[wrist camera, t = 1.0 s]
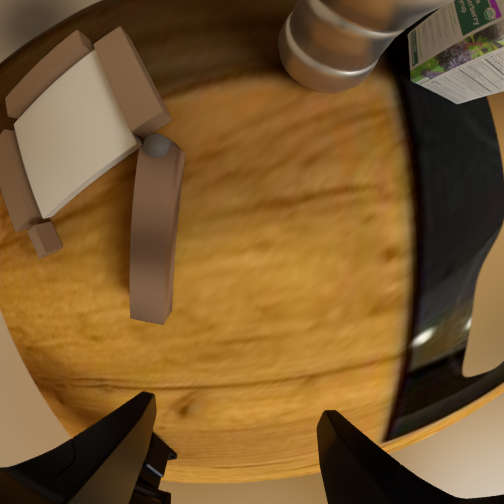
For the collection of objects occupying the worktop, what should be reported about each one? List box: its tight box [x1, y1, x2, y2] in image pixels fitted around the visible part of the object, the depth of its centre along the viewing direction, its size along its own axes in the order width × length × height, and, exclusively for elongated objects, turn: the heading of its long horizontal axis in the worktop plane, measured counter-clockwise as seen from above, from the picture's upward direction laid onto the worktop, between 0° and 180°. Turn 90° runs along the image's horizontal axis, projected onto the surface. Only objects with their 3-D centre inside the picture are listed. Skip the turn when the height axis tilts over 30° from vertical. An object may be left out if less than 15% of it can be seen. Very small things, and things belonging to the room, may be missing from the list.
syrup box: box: [408, 0, 504, 104], centre depth 9 cm, size 6×6×14 cm
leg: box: [130, 133, 186, 325], centre depth 17 cm, size 12×2×3 cm, turn 172°
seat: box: [0, 27, 173, 259], centre depth 15 cm, size 15×15×2 cm
